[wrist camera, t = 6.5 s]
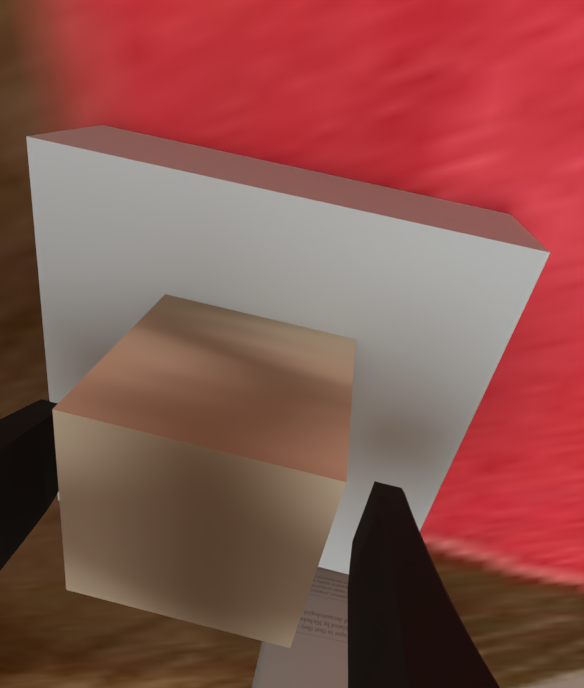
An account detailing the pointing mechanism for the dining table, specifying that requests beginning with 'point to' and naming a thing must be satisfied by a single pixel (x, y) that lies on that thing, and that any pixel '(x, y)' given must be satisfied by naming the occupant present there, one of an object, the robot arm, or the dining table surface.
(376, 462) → the grey block
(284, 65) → the dining table surface
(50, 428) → the robot arm
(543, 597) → the dining table surface
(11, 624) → the dining table surface
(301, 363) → the birch cube
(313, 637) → the supplement box
